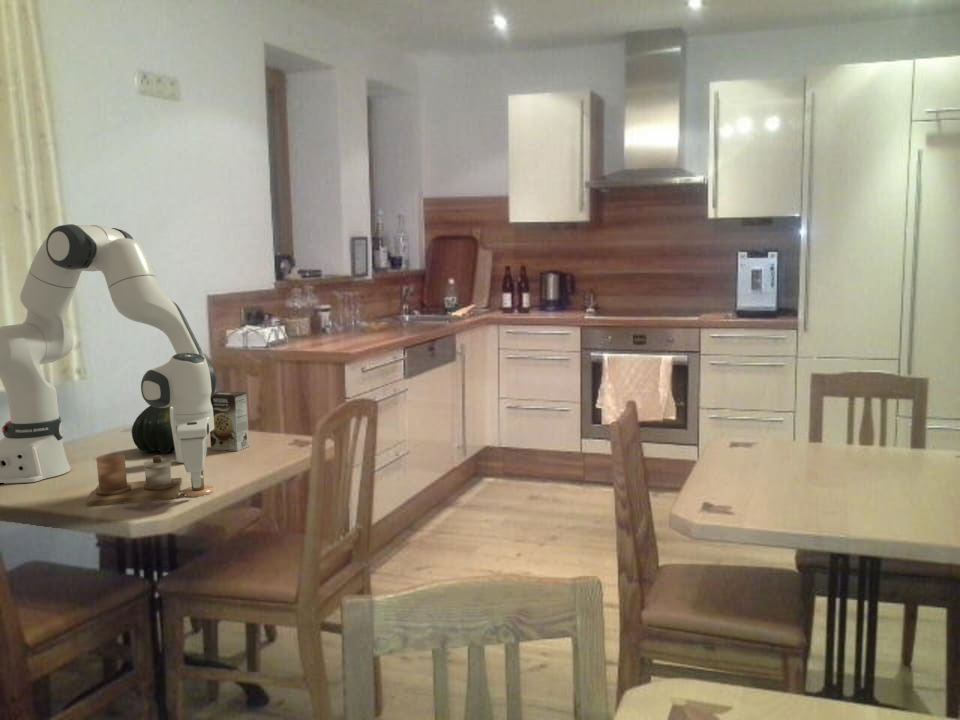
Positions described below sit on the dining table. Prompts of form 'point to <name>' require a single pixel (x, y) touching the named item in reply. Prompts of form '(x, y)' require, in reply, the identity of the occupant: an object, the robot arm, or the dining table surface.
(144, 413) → the squash
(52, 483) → the dining table surface
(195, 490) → the jar lid
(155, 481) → the holder
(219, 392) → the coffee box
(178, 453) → the drinking glass
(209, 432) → the robot arm
